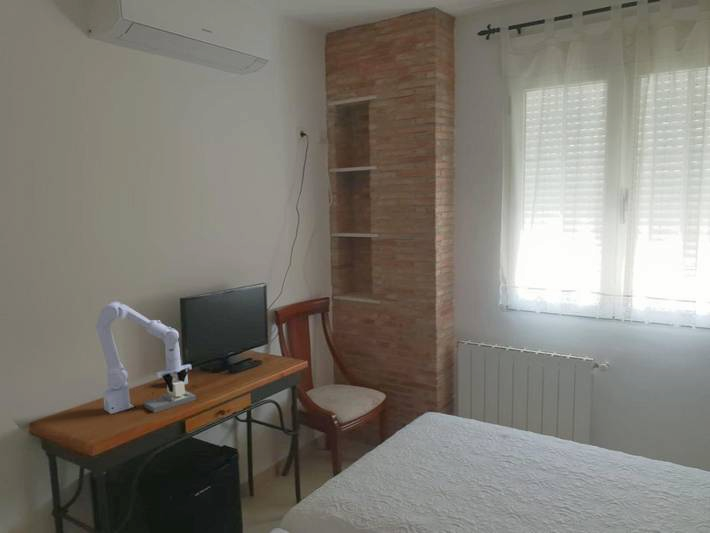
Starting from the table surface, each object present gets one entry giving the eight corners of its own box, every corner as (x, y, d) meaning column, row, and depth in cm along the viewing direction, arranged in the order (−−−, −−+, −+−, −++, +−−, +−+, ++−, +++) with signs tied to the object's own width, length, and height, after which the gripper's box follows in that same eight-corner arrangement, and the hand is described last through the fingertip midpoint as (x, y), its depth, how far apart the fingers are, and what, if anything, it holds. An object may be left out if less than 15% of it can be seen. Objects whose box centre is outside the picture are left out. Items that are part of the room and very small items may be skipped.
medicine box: (168, 384, 250) (167, 366, 249) (176, 381, 254) (174, 363, 253) (181, 386, 247) (179, 368, 246) (188, 383, 250) (186, 365, 250)
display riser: (154, 412, 216) (153, 404, 215) (144, 406, 223) (143, 399, 222) (195, 399, 228) (195, 392, 227) (185, 394, 235) (184, 387, 235)
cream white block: (176, 396, 223) (175, 384, 222) (167, 392, 229) (166, 380, 228) (185, 393, 226) (184, 382, 225) (176, 389, 231) (175, 378, 231)
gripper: (160, 364, 217) (163, 396, 219) (193, 355, 227) (196, 387, 229) (153, 361, 222) (156, 392, 224) (186, 353, 232) (188, 383, 234)
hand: (176, 389), depth 227 cm, fingers closed on cream white block, 4 cm apart
